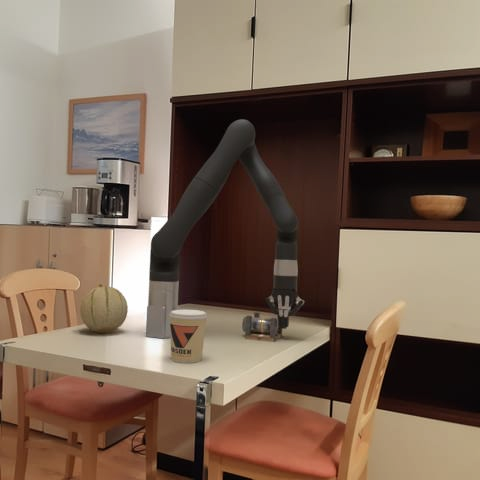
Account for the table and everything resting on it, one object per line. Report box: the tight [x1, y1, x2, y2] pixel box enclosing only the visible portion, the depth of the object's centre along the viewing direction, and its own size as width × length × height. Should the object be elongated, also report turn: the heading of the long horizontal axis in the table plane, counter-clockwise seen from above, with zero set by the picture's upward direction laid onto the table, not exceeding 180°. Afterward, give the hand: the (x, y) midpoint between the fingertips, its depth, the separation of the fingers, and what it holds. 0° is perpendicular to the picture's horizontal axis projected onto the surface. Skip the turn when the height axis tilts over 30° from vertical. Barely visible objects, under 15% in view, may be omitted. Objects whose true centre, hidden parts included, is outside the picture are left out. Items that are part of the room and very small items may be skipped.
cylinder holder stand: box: [244, 312, 283, 343], centre depth 157 cm, size 10×9×7 cm
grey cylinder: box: [241, 316, 279, 335], centre depth 158 cm, size 11×5×5 cm, turn 72°
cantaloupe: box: [79, 283, 129, 334], centre depth 154 cm, size 15×15×15 cm
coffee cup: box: [170, 309, 208, 364], centre depth 124 cm, size 9×9×12 cm
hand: (283, 328), depth 155 cm, fingers closed
